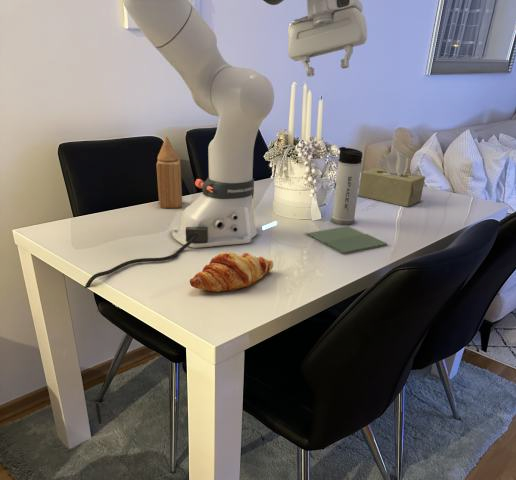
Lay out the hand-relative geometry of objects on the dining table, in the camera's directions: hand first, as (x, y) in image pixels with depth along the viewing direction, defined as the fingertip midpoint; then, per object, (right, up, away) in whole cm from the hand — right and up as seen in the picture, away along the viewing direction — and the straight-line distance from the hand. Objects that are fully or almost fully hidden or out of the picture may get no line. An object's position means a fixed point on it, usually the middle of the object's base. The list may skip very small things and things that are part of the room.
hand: (327, 71), depth 128 cm
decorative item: (-44, -27, +27) cm, 58 cm away
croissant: (-23, -56, -20) cm, 64 cm away
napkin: (+6, -42, +5) cm, 42 cm away
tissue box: (+26, -20, +41) cm, 53 cm away
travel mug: (+7, -34, +19) cm, 39 cm away
